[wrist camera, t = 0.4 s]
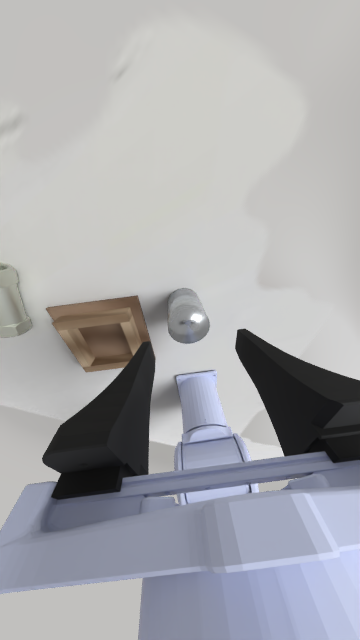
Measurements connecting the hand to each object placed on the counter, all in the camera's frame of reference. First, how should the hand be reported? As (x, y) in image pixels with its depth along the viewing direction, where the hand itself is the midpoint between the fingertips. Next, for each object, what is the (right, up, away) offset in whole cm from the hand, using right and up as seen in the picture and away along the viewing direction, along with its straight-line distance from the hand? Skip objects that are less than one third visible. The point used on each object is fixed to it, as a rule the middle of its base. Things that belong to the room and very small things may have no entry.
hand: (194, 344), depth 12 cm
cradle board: (-12, 0, +11) cm, 16 cm away
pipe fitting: (-24, +6, +6) cm, 25 cm away
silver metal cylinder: (-1, +4, +8) cm, 9 cm away
